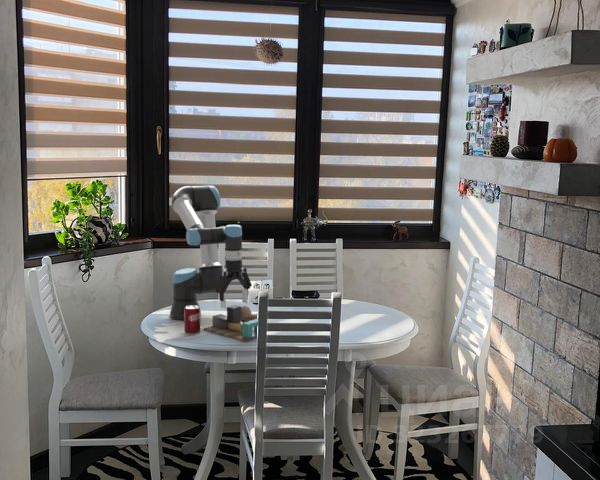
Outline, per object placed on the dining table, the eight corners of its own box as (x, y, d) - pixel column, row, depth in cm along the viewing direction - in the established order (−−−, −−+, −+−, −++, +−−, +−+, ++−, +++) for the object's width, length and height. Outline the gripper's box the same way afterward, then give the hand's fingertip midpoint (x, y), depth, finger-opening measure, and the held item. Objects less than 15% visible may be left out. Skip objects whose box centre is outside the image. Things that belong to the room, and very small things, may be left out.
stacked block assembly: (208, 327, 347) (208, 313, 345) (224, 323, 354) (224, 309, 353) (248, 338, 330) (247, 324, 329) (263, 333, 337) (263, 319, 336)
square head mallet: (212, 324, 348) (212, 303, 347) (220, 322, 352) (220, 301, 350) (239, 332, 336) (239, 310, 335) (247, 329, 340) (247, 307, 339)
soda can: (181, 332, 342) (180, 307, 340) (193, 329, 347) (192, 304, 345) (191, 335, 337) (191, 309, 335) (203, 332, 342) (203, 306, 341)
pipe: (270, 314, 357) (272, 305, 366) (236, 313, 358) (238, 305, 367) (270, 326, 359) (272, 317, 368) (236, 325, 360) (239, 317, 369)
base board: (203, 330, 346) (203, 328, 346) (226, 324, 356) (226, 322, 356) (244, 341, 328) (244, 339, 328) (266, 335, 339) (266, 332, 338)
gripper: (218, 263, 325) (219, 311, 328) (259, 256, 344) (259, 301, 347) (207, 261, 330) (208, 308, 333) (247, 254, 349) (248, 299, 352)
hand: (234, 305), depth 340 cm, fingers open, 13 cm apart
